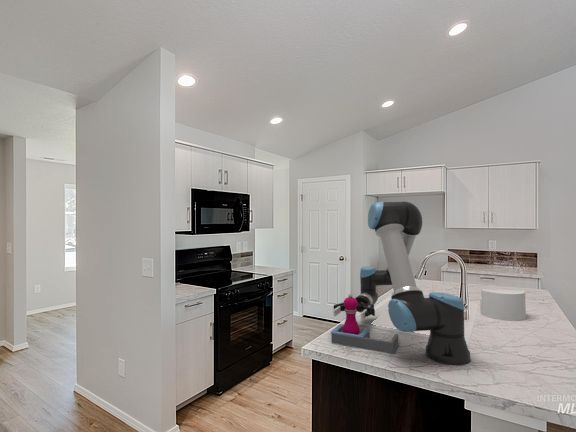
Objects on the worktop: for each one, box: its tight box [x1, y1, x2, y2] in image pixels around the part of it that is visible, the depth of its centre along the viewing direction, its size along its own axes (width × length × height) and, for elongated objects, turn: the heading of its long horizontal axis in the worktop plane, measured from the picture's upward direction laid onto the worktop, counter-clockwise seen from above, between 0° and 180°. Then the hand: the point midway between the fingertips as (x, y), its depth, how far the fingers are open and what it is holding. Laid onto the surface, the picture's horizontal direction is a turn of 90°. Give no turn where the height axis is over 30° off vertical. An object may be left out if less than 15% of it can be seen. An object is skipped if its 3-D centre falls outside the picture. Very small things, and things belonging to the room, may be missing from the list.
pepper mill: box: [343, 293, 361, 335], centre depth 144 cm, size 7×7×20 cm
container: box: [479, 289, 527, 322], centre depth 176 cm, size 20×20×13 cm
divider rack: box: [330, 323, 400, 354], centre depth 140 cm, size 26×12×5 cm, turn 61°
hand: (347, 314), depth 140 cm, fingers open, 11 cm apart
